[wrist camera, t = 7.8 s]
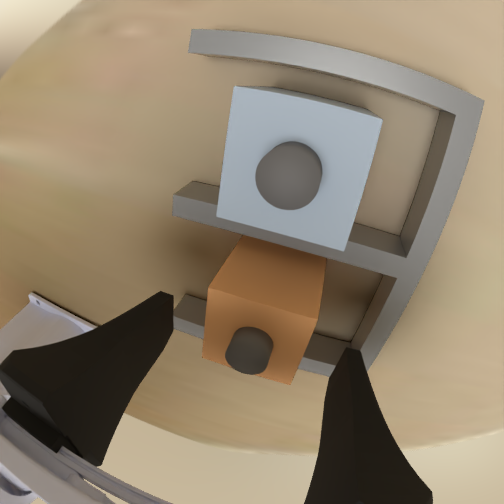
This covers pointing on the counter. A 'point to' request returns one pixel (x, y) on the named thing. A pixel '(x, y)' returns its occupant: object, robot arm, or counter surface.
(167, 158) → the counter surface
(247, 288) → the orange plug
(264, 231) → the e-shaped shelf rack
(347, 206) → the seated plug
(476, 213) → the counter surface
